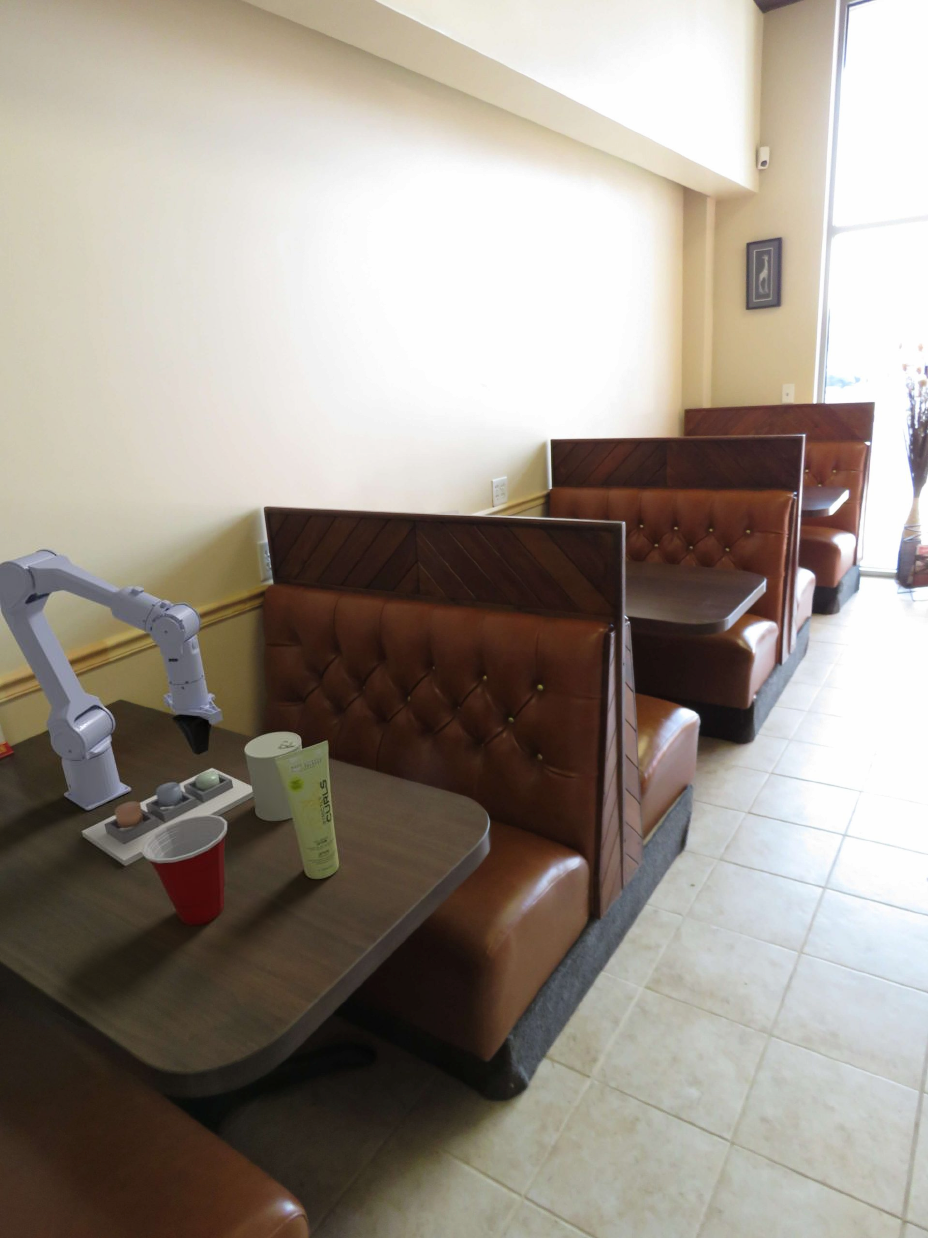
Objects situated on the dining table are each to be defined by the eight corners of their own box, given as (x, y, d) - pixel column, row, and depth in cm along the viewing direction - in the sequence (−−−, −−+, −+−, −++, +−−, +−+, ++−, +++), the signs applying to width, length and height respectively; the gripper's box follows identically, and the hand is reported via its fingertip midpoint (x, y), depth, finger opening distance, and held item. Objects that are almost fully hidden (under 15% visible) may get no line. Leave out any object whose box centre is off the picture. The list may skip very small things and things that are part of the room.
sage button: (193, 791, 129) (190, 778, 129) (212, 781, 132) (210, 769, 131) (205, 797, 127) (203, 784, 126) (224, 787, 130) (222, 775, 129)
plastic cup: (214, 875, 108) (198, 802, 105) (258, 903, 101) (244, 826, 98) (143, 918, 100) (124, 841, 97) (187, 951, 94) (168, 869, 90)
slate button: (154, 803, 124) (151, 790, 123) (175, 792, 127) (172, 780, 126) (166, 809, 122) (163, 796, 121) (187, 799, 124) (184, 786, 124)
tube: (327, 885, 104) (307, 760, 98) (295, 880, 105) (274, 757, 100) (345, 860, 109) (327, 740, 103) (314, 856, 111) (295, 737, 105)
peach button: (113, 823, 119) (110, 810, 118) (136, 812, 122) (132, 799, 121) (125, 830, 117) (121, 817, 116) (147, 819, 119) (144, 805, 119)
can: (297, 822, 120) (286, 755, 116) (245, 820, 122) (232, 754, 118) (319, 792, 128) (309, 729, 125) (270, 790, 130) (259, 728, 127)
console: (83, 836, 121) (79, 822, 120) (212, 772, 138) (210, 760, 137) (125, 866, 112) (121, 851, 111) (258, 794, 129) (255, 780, 129)
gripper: (232, 678, 122) (245, 752, 126) (184, 662, 131) (198, 732, 135) (193, 693, 117) (209, 770, 121) (146, 675, 126) (162, 748, 130)
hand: (201, 751), depth 127 cm, fingers closed
